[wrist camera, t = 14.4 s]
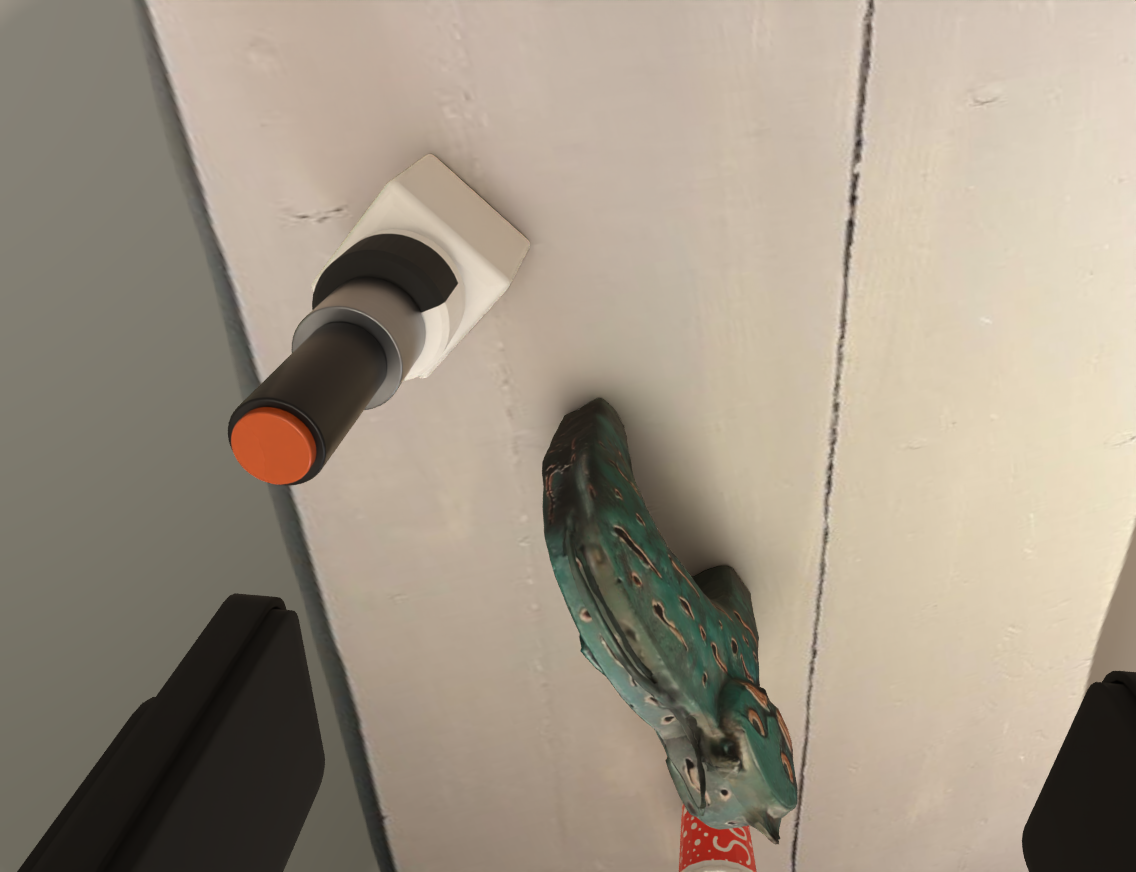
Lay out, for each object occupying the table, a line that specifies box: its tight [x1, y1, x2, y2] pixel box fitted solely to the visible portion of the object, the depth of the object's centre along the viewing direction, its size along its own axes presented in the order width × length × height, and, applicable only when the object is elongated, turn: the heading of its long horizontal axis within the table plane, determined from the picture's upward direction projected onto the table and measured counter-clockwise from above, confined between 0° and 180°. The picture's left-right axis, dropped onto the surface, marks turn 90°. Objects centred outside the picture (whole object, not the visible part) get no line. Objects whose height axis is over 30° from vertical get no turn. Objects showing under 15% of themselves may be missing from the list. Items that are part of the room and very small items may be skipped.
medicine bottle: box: [311, 154, 530, 381], centre depth 40 cm, size 7×7×12 cm
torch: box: [228, 277, 426, 485], centre depth 30 cm, size 4×4×10 cm
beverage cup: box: [679, 802, 756, 872], centre depth 58 cm, size 6×6×14 cm
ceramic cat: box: [542, 398, 797, 844], centre depth 43 cm, size 20×6×20 cm, turn 34°
